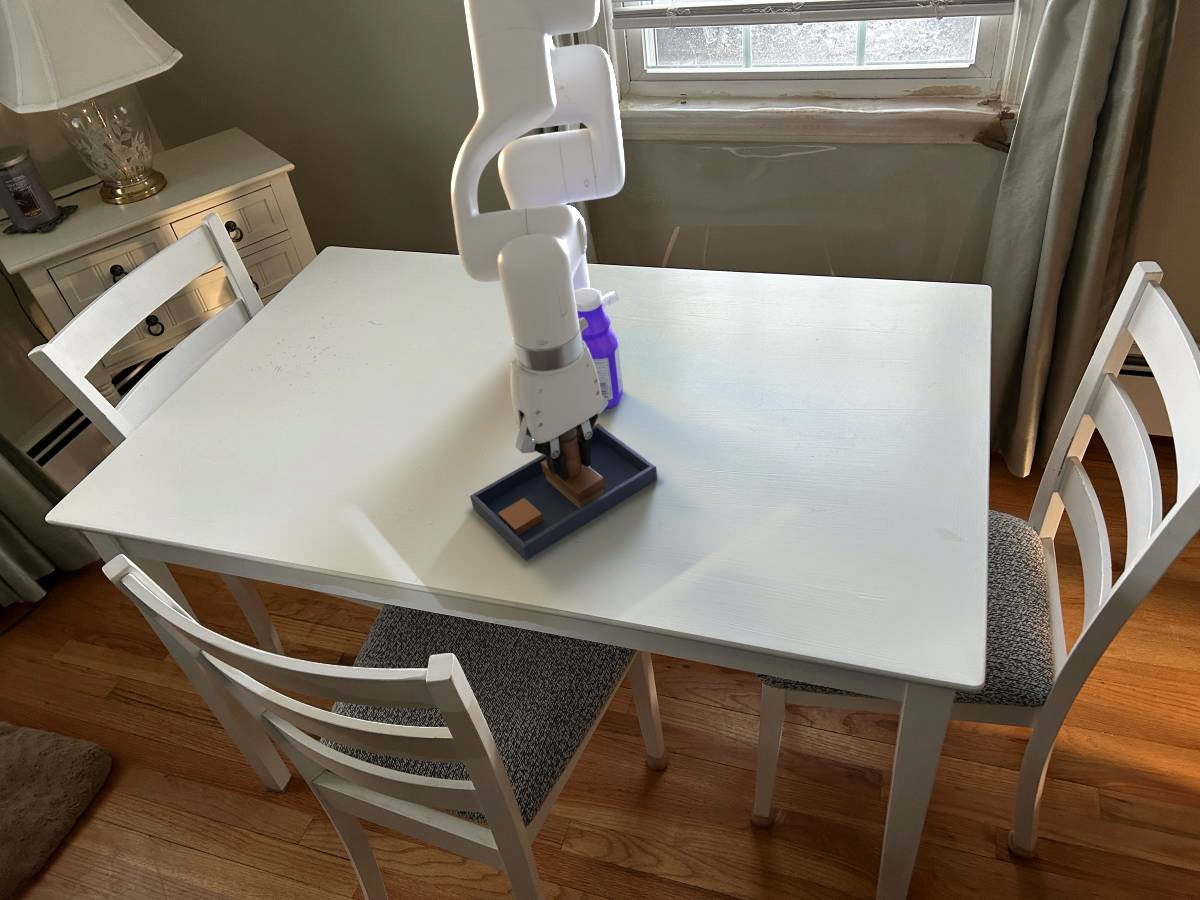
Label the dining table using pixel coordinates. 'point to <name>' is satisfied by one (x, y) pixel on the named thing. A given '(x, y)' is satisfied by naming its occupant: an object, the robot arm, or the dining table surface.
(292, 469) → the dining table surface
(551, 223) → the robot arm
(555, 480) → the wooden stamp
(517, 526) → the brown square tile
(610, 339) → the bottle
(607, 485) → the tray
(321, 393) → the dining table surface
